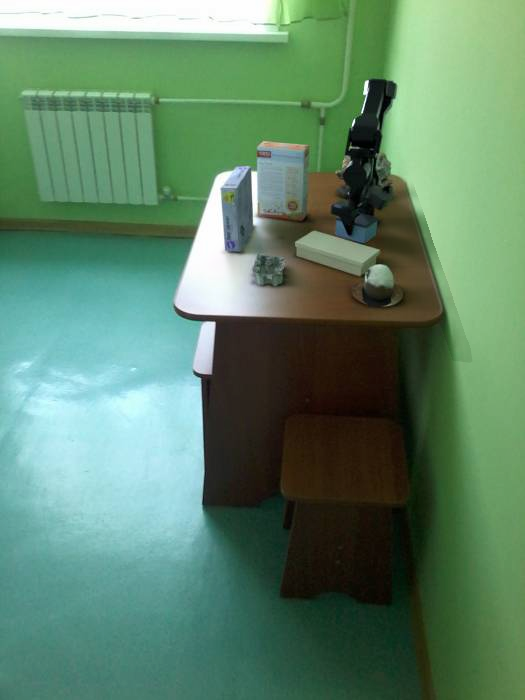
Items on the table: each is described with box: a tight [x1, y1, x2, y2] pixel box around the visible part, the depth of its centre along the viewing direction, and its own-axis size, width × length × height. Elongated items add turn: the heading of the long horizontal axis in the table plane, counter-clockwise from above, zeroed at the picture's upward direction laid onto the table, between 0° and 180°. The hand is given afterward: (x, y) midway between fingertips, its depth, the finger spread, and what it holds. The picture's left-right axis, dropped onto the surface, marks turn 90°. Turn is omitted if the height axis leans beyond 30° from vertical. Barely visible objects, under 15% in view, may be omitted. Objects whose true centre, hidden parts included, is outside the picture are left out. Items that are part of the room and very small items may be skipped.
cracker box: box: [256, 140, 310, 222], centre depth 180 cm, size 14×6×21 cm, turn 71°
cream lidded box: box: [294, 230, 381, 277], centre depth 161 cm, size 9×20×4 cm, turn 53°
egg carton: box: [252, 252, 286, 287], centre depth 154 cm, size 11×8×4 cm
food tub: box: [334, 212, 380, 244], centre depth 167 cm, size 7×9×5 cm
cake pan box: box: [220, 165, 254, 253], centre depth 168 cm, size 19×5×18 cm, turn 169°
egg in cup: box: [351, 263, 404, 308], centre depth 147 cm, size 12×10×10 cm
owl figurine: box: [335, 146, 393, 200], centre depth 195 cm, size 18×12×17 cm, turn 83°
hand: (355, 231), depth 168 cm, fingers closed on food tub, 6 cm apart
